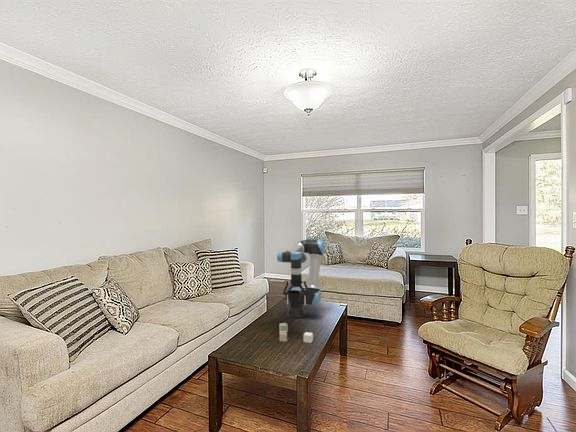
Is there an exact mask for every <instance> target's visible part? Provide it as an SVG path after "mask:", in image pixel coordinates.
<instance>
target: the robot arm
mask: <svg viewBox="0 0 576 432" xmlns="http://www.w3.org/2000/svg"><path fill="white" fill-rule="evenodd" d="M325 251H326V245H325V243H324V241H323V240H321V239H303V240H300V241H297V242H296V243H295V244H294V245H293V246H292V247H290V248H289V249H287V250H286V251H284V252H283V251H280V252H277V254H276V260H277V262H280V263H289V264H290V280H286V284H285V287H284V290H283V292H282V294H283V295H284V296H285V300H286V305H289V307H288V310H287V317H288V318H290V319H302V318H305V317H306V310H305V306H306V305H309V306H319V304H321V301H322V296H323V295H322V291H321V288H320V287H319V281H320V280H319V279H320V267H321V258H322V257H323V255H324V254H325V253H326V252H325ZM307 254H308V255H309V259H310V260H309V268H308V281H306V280H303V279H302V275H303V274H302V264H303V263H305V262H306V261H307V260H308V255H307ZM289 284H290V287H289V288H288V286H289ZM302 284H303V285H304V287H303V286H302ZM286 290H287V291H286ZM291 290H297V291H299V292H300V293H303V294H304V295H305V296H304V299H303V300H302V298H303V294H300V298H299V303H300V302H301V300H302V302H301V303H300V305H297V306H291V305H290V302H289V298H288V293H289V291H291Z"/></svg>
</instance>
